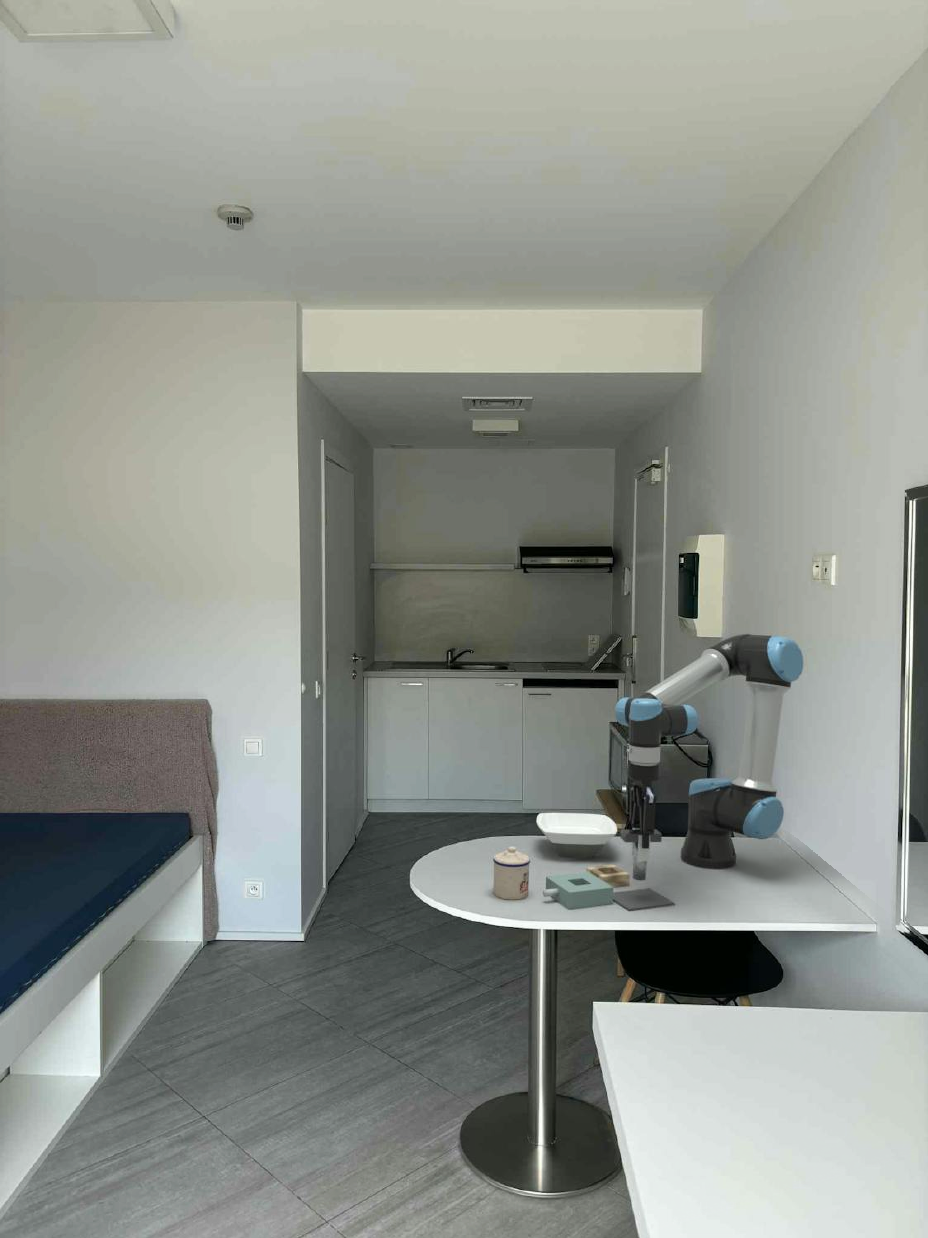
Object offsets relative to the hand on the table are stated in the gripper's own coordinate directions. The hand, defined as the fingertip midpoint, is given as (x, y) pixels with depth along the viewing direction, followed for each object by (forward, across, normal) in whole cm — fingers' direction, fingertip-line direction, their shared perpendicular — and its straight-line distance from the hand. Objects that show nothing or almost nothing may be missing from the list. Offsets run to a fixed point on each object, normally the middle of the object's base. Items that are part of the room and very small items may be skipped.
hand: (640, 857), depth 216 cm
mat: (+11, 0, 0) cm, 11 cm away
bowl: (+11, -40, -6) cm, 42 cm away
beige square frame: (+11, -14, -4) cm, 18 cm away
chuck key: (+5, 0, 0) cm, 5 cm away
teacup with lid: (+11, -7, -30) cm, 33 cm away
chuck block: (+11, -2, -16) cm, 19 cm away
